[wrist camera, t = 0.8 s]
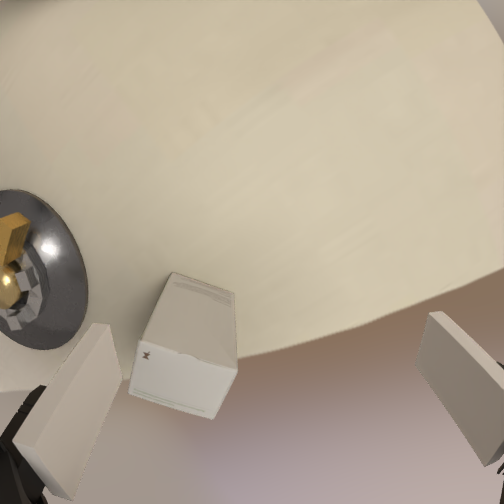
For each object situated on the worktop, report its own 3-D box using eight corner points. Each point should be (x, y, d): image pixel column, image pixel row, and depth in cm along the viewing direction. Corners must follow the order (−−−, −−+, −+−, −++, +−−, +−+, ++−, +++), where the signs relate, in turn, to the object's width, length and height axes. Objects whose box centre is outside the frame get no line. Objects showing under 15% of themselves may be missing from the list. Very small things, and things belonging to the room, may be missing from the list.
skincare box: (158, 313, 39) (121, 394, 24) (172, 267, 37) (134, 336, 22) (220, 335, 40) (212, 424, 25) (239, 291, 38) (239, 372, 24)
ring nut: (37, 333, 38) (17, 354, 32) (-20, 286, 36) (-42, 301, 30) (69, 239, 34) (43, 253, 29) (3, 190, 32) (-26, 197, 26)
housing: (-48, 240, 35) (-69, 250, 29) (32, 154, 32) (7, 156, 27) (23, 362, 41) (8, 381, 36) (121, 314, 39) (106, 335, 34)
